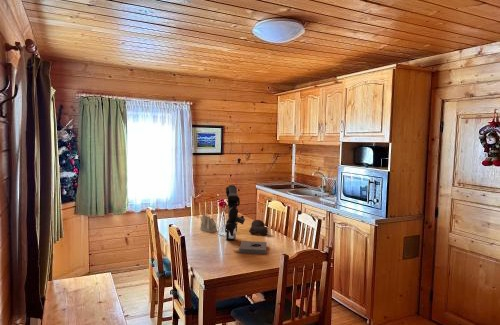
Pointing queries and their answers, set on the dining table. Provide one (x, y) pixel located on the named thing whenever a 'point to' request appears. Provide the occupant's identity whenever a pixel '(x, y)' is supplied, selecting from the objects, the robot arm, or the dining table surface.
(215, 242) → the dining table surface
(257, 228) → the dark knit hat
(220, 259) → the dining table surface
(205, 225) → the ceramic cottage
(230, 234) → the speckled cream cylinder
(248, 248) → the duct plate
